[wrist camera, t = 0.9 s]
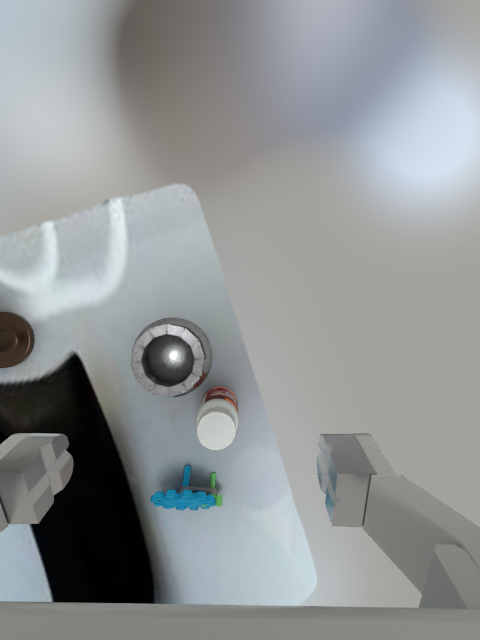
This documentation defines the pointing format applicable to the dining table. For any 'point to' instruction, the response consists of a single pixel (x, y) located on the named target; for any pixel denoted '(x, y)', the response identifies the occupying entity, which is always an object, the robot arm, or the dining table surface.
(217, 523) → the dining table surface
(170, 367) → the notched hollow ring
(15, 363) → the candlestick
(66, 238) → the dining table surface
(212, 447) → the pill bottle
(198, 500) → the gear
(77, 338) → the dining table surface
